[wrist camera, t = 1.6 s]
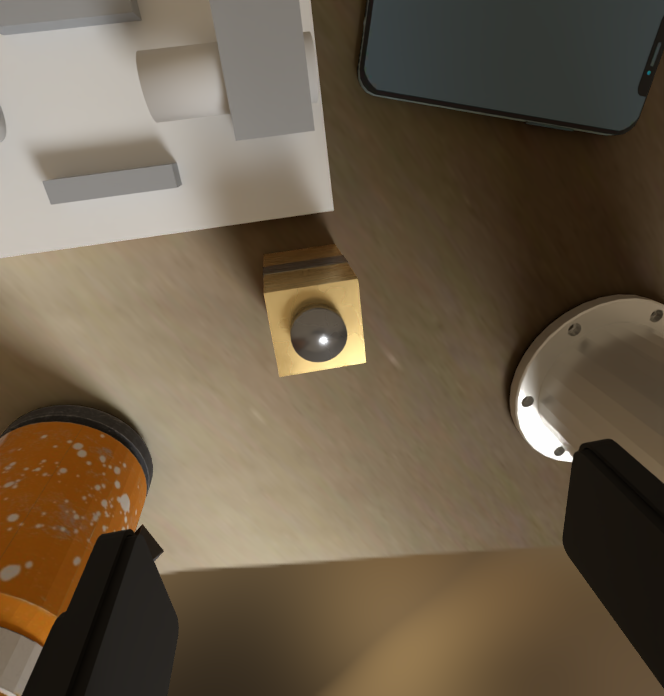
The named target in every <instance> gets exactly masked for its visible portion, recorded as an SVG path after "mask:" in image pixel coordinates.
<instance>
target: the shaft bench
mask: <svg viewBox="0 0 664 696" xmlns="http://www.w3.org/2000/svg"><path fill="white" fill-rule="evenodd" d="M327 211H334V208H333V199H332V190H331V181H330V172H329V163H328V154H327V145H326V136H325V127H324V118H323V109H322V100H321V91H320V82H319V73H318V64H317V55H316V46H315V37H314V28H313V19H312V10H311V1H310V0H0V258H4V257H11V256H18V255H25V254H32V253H40V252H47V251H54V250H61V249H68V248H75V247H82V246H89V245H96V244H103V243H110V242H117V241H124V240H131V239H138V238H145V237H152V236H159V235H166V234H173V233H180V232H187V231H194V230H201V229H208V228H215V227H222V226H229V225H236V224H243V223H250V222H257V221H264V220H271V219H278V218H285V217H292V216H299V215H306V214H313V213H320V212H327Z"/></svg>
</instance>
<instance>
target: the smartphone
mask: <svg viewBox="0 0 664 696" xmlns="http://www.w3.org/2000/svg"><path fill="white" fill-rule="evenodd" d="M363 25H364V28H363V33H362V40H361V47H360V54H359V61H358V64H359V65H358V68H357V70H358V80H359V82H360V85H361V87H362V88H363V89H364V90H365V92H367V93H369V94H371V95H373V96H377V97H383V98H389V99H394V100H400V101H406V102H412V103H418V104H423V105H429V106H435V107H441V108H447V109H452V110H458V111H464V112H470V113H476V114H481V115H487V116H493V117H499V118H505V119H511V120H517V121H523V122H526V123H525V124H530V125H536V126H542V127H548V128H554V129H560V130H566V131H574V130H577V131H583V132H588V133H594V134H600V135H621V134H624V133H626V132H628V131H630V130H631V129H632V128H633V127H634V126H635V124H636V123H637V121H638V119H639V117H640V114H641V111H642V109H643V106H644V103H645V100H646V98H647V95H648V92H649V89H650V86H651V84H652V81H653V78H654V75H655V73H656V70H657V67H658V64H659V62H660V59H661V56H662V53H663V50H664V0H367V2H366V9H365V20H364V23H363Z"/></svg>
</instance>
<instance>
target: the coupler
mask: <svg viewBox="0 0 664 696" xmlns="http://www.w3.org/2000/svg"><path fill="white" fill-rule="evenodd" d="M263 278H264V298H265V303H266V309H267V314H268V319H269V324H270V330H271V335H272V340H273V345H274V351H275V356H276V361H277V366H278V372H279V377H283V376H289V375H295V374H300V373H306V372H312V371H318V370H324V369H330V368H336V367H342V366H348V365H354V364H360V363H366V357H365V346H364V336H363V325H362V315H361V304H360V294H359V283H358V278H357V276H356V275H355V273H354V272H353V270H352V269H351V267H350V266H349V264H348V261H347V260H346V258H345V257H344V256H343V255H342V254H341V252H340V251H339V249H338V248H337V247H336V245H335V244H331V245H324V246H318V247H311V248H304V249H297V250H291V251H284V252H277V253H270V254H264V267H263Z"/></svg>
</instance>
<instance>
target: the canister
mask: <svg viewBox="0 0 664 696" xmlns="http://www.w3.org/2000/svg"><path fill="white" fill-rule="evenodd" d="M152 476H153V464H152V458H151V455H150V453H149V450H148V448H147V446H146V445H145V443H144V441H143V440H142V439H141V437H140V436H139V435H138V434H137V433H136V432H135V431H134V430H133V429H132V428H131V427H130V426H128V425H127V424H126V423H124V422H123V421H121V420H119V419H118V418H116V417H114V416H112V415H110V414H108V413H105V412H102V411H99V410H96V409H93V408H88V407H83V406H74V405H57V406H50V407H44V408H40V409H37V410H34V411H31V412H29V413H27V414H25V415H23V416H21V417H20V418H18V419H17V420H16V421H14V422H13V423H12V424H11V425H10V426H9V427H8V428H7V429H6V430H5V431H4V433H3V434H2V435H1V436H0V696H21V695H22V693H23V691H24V689H25V686H26V684H27V682H28V680H29V677H30V675H31V673H32V671H33V668H34V666H35V664H36V662H37V659H38V657H39V655H40V653H41V650H42V648H43V646H44V643H45V641H46V639H47V637H48V634H49V632H50V630H51V628H52V626H53V624H54V622H55V621H56V619H57V618H58V617H59V616H60V615H61V614H62V613H63V612H65V611H67V608H68V606H69V604H70V601H71V599H72V597H73V594H74V592H75V589H76V587H77V585H78V582H79V580H80V578H81V575H82V573H83V571H84V568H85V566H86V564H87V561H88V559H89V557H90V554H91V552H92V550H93V547H94V545H95V543H96V540H97V539H98V537H99V536H100V535H101V534H105V533H110V532H115V531H121V530H126V529H131V530H133V531H134V533H135V535H139V534H141V535H143V537H144V539H145V541H146V543H147V546H148V548H149V551H150V553H151V555H152V558H153V560H154V561H155V560H156V559H157V558H158V557H159V556H160V555H161V554H162V553H163V552H164V551H163V549H162V548H161V547H160V546H159V544H158V543H157V542H156V541H155V539H154V538H153V537H152V536H151V534H150V533H149V532H148V531H147V529H146V528H145V527H144V525H143V524H142V525H141V526H140V528H139V529H138V530H137V531H136V532H135V530H136V527H137V524H138V521H139V517H140V514H141V511H142V508H143V505H144V502H145V498H146V496H147V493H148V490H149V487H150V484H151V480H152Z"/></svg>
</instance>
